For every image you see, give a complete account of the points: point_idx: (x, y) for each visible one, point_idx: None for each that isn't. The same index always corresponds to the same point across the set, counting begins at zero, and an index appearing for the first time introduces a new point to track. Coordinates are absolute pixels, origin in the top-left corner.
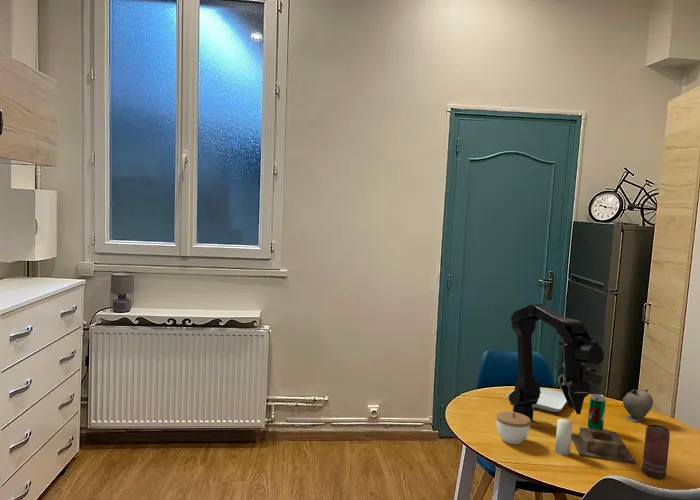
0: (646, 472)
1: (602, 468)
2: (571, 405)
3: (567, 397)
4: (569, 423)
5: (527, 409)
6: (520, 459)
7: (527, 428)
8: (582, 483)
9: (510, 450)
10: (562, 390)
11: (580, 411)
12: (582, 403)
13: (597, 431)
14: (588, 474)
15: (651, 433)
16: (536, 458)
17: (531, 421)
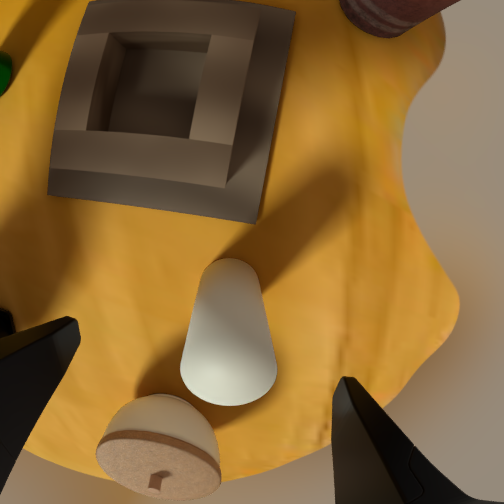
0: (395, 36)
1: (359, 173)
2: (68, 344)
3: (32, 409)
4: (263, 358)
5: None
6: (305, 417)
7: (199, 439)
8: (443, 290)
9: (247, 430)
10: (10, 469)
11: (365, 394)
12: (416, 452)
13: (85, 87)
14: (402, 250)
15: None
16: (295, 382)
17: (1, 311)
